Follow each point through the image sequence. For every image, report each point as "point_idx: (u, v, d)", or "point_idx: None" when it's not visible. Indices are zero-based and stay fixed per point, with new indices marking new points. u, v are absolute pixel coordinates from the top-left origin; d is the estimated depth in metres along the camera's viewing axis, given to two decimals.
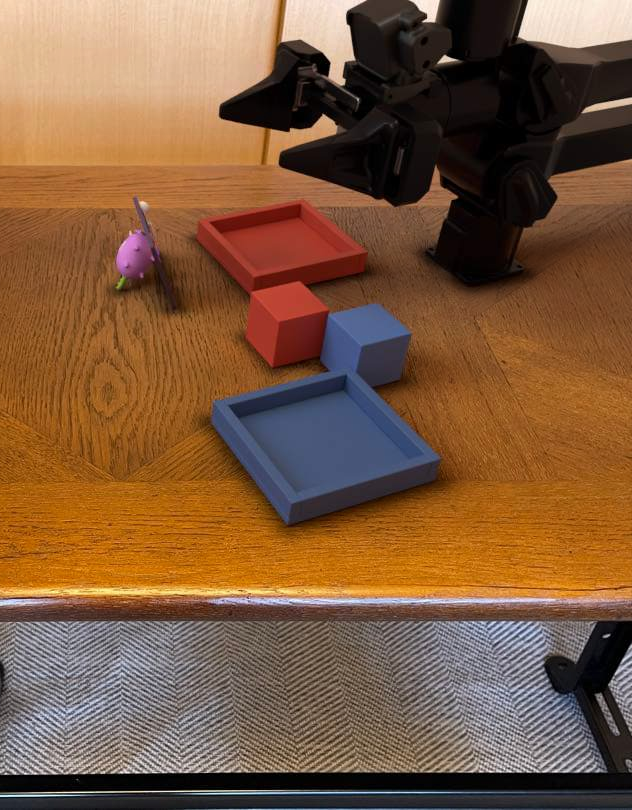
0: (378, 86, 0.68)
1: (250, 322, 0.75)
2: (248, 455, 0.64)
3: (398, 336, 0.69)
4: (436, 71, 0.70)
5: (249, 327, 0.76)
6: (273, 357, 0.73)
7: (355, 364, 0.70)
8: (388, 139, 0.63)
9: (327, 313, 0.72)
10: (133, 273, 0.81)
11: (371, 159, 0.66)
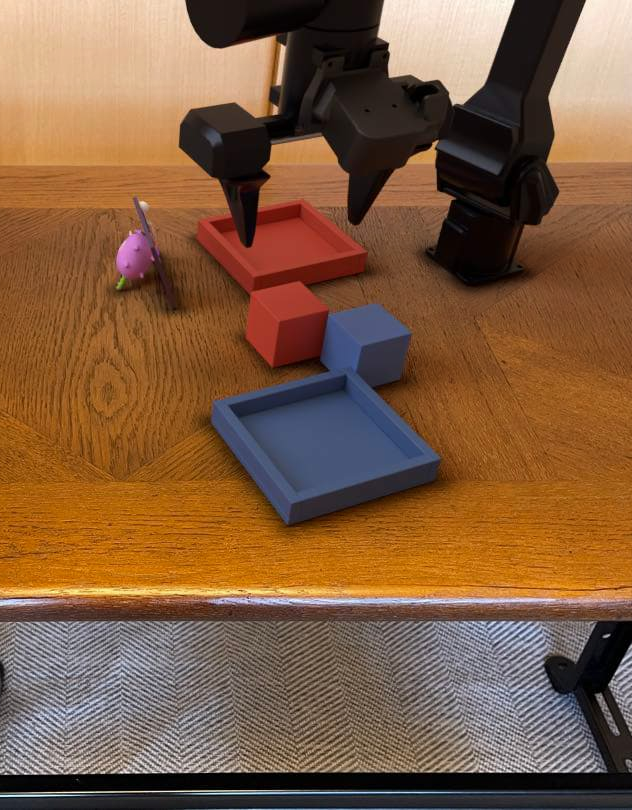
0: None
1: (250, 322, 0.75)
2: (248, 455, 0.64)
3: (398, 336, 0.69)
4: (367, 32, 0.58)
5: (249, 327, 0.76)
6: (273, 357, 0.73)
7: (355, 364, 0.70)
8: None
9: (327, 313, 0.72)
10: (133, 273, 0.81)
11: None
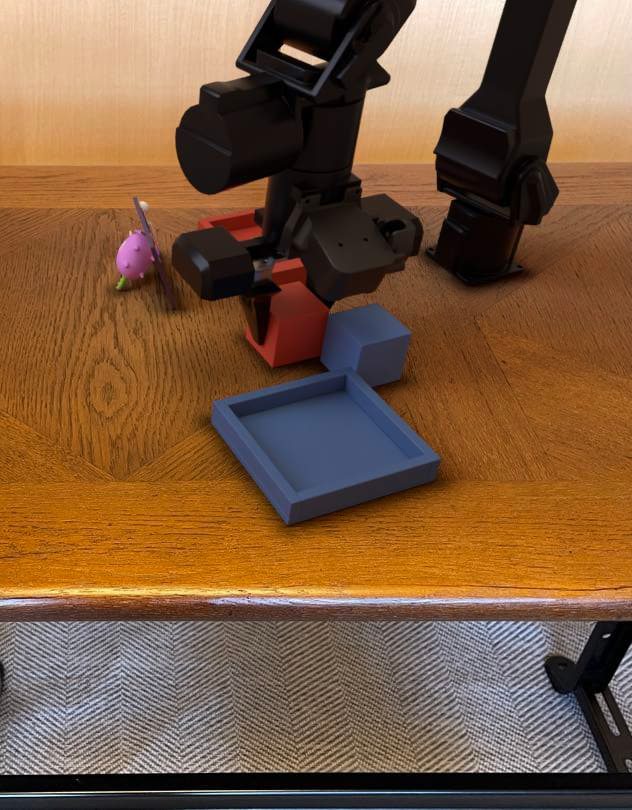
0: None
1: None
2: (248, 455, 0.64)
3: (398, 336, 0.69)
4: (341, 172, 0.63)
5: None
6: (273, 357, 0.73)
7: (355, 364, 0.70)
8: None
9: (327, 313, 0.72)
10: (133, 273, 0.81)
11: None
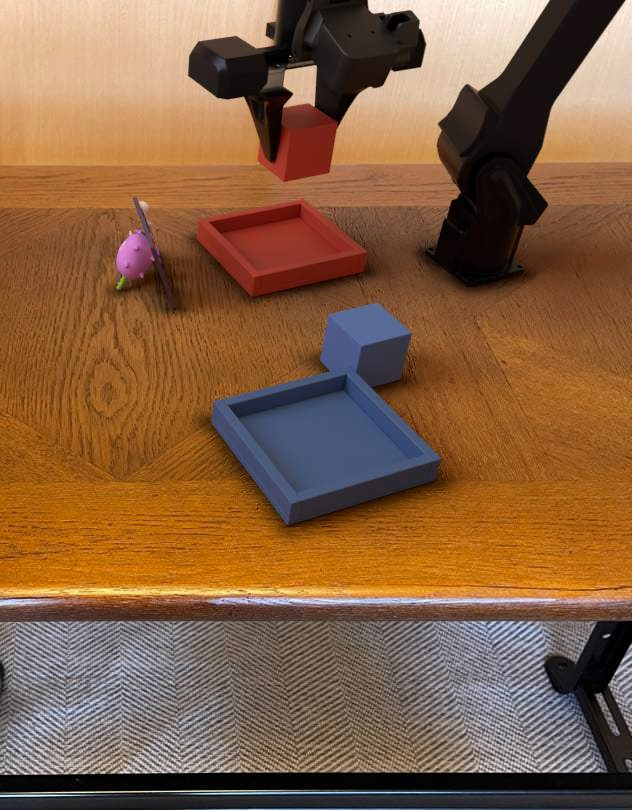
0: None
1: None
2: (248, 455, 0.64)
3: (398, 336, 0.69)
4: None
5: (261, 148, 0.80)
6: (284, 171, 0.77)
7: (355, 364, 0.70)
8: None
9: (335, 126, 0.76)
10: (133, 273, 0.81)
11: None
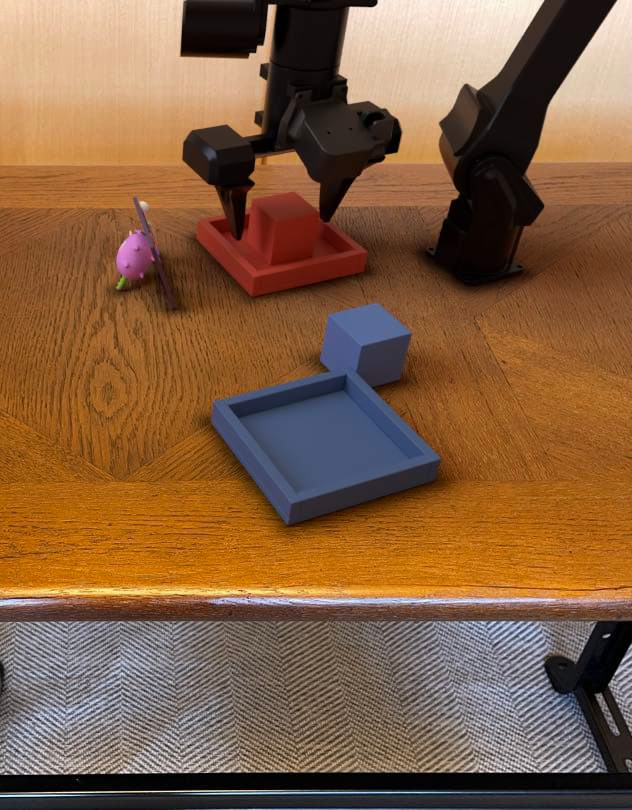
0: None
1: (251, 227, 0.86)
2: (248, 455, 0.64)
3: (398, 336, 0.69)
4: (329, 71, 0.74)
5: (250, 232, 0.87)
6: (271, 255, 0.84)
7: (355, 364, 0.70)
8: None
9: (318, 216, 0.83)
10: (133, 273, 0.81)
11: None
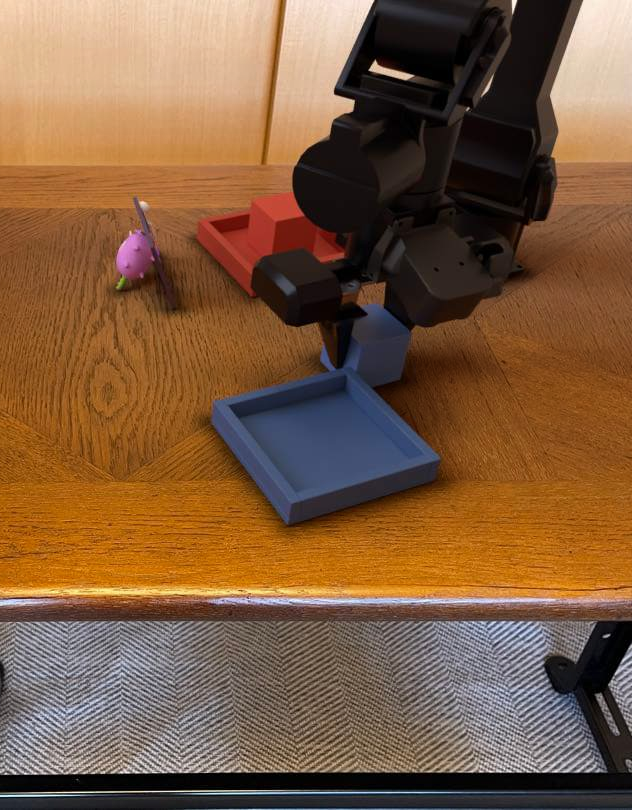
0: None
1: (251, 227, 0.86)
2: (248, 455, 0.64)
3: (398, 336, 0.69)
4: (435, 194, 0.61)
5: (250, 232, 0.87)
6: None
7: (355, 364, 0.70)
8: None
9: None
10: (133, 273, 0.81)
11: None
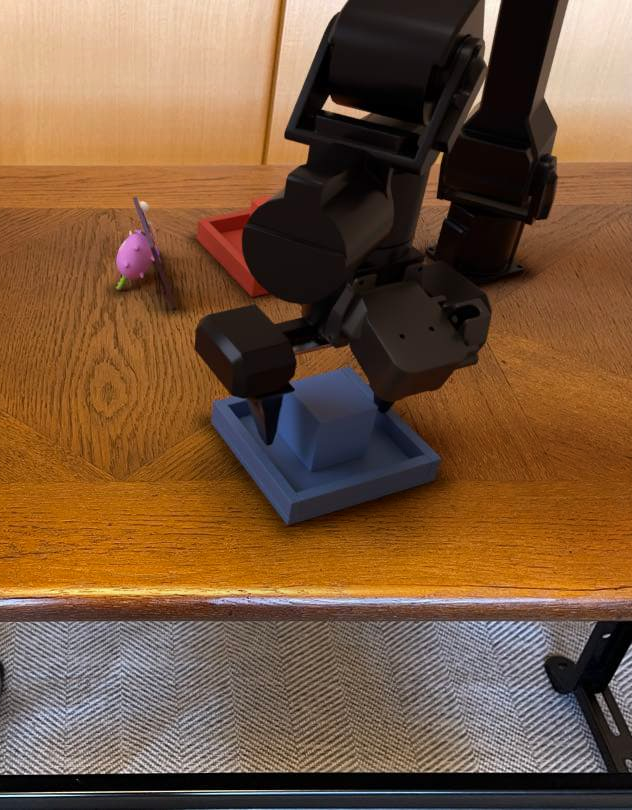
0: None
1: None
2: (248, 455, 0.64)
3: (362, 411, 0.62)
4: (401, 248, 0.53)
5: None
6: None
7: (314, 442, 0.62)
8: None
9: None
10: (133, 273, 0.81)
11: None
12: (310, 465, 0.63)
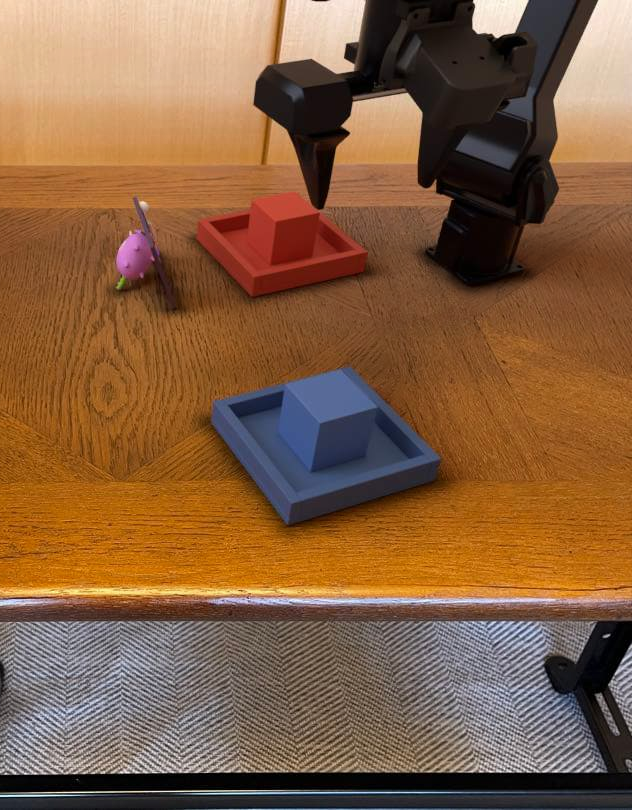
0: None
1: (251, 227, 0.86)
2: (248, 455, 0.64)
3: (362, 411, 0.62)
4: None
5: (250, 232, 0.87)
6: (271, 255, 0.84)
7: (314, 442, 0.62)
8: None
9: (318, 216, 0.83)
10: (133, 273, 0.81)
11: None
12: (310, 465, 0.63)
